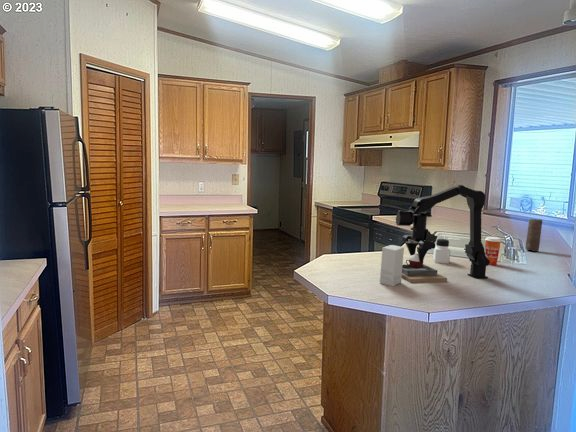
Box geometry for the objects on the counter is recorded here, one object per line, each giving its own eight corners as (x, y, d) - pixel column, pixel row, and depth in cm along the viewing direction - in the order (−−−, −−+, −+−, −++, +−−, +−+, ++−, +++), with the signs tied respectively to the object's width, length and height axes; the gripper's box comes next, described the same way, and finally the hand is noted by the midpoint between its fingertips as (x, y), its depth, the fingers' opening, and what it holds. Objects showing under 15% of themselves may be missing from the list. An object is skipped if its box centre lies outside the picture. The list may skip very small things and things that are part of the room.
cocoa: (404, 268, 198) (405, 242, 196) (409, 265, 203) (409, 239, 201) (425, 271, 193) (425, 244, 191) (429, 267, 198) (430, 242, 196)
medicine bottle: (449, 263, 224) (451, 241, 223) (434, 262, 226) (436, 239, 224) (447, 260, 231) (449, 238, 230) (433, 259, 233) (435, 237, 231)
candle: (539, 253, 264) (543, 220, 261) (525, 251, 267) (529, 219, 264) (538, 251, 271) (541, 219, 268) (524, 249, 274) (528, 218, 271)
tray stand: (447, 281, 190) (447, 273, 190) (409, 282, 186) (410, 274, 185) (420, 268, 211) (420, 261, 211) (386, 269, 207) (386, 262, 206)
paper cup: (482, 264, 226) (484, 237, 225) (483, 261, 233) (485, 235, 231) (498, 266, 223) (501, 239, 221) (499, 263, 230) (502, 237, 228)
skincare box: (388, 279, 189) (390, 244, 187) (402, 283, 185) (405, 246, 183) (378, 283, 182) (381, 247, 180) (393, 286, 178) (396, 249, 176)
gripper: (447, 229, 189) (444, 264, 191) (424, 223, 206) (421, 255, 208) (424, 229, 186) (421, 265, 188) (402, 223, 204) (400, 255, 206)
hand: (416, 260), depth 198 cm, fingers closed on cocoa, 7 cm apart
